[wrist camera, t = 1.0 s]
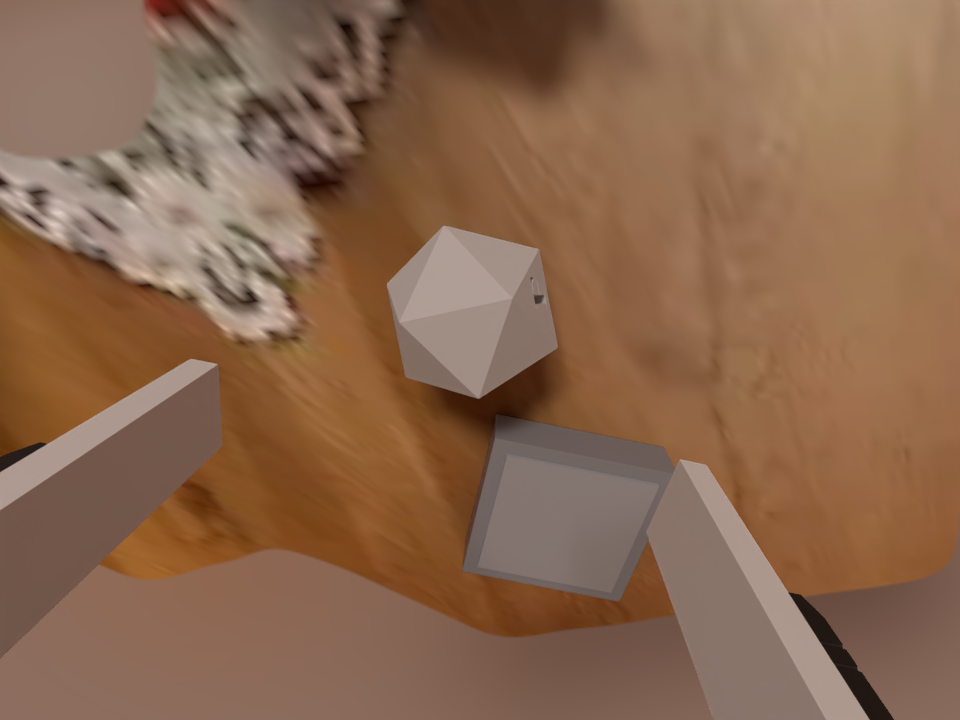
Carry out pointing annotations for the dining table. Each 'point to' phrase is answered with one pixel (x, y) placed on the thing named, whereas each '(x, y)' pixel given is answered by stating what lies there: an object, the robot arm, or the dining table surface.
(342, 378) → the dining table surface
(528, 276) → the die
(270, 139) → the dining table surface
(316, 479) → the dining table surface
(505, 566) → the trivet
